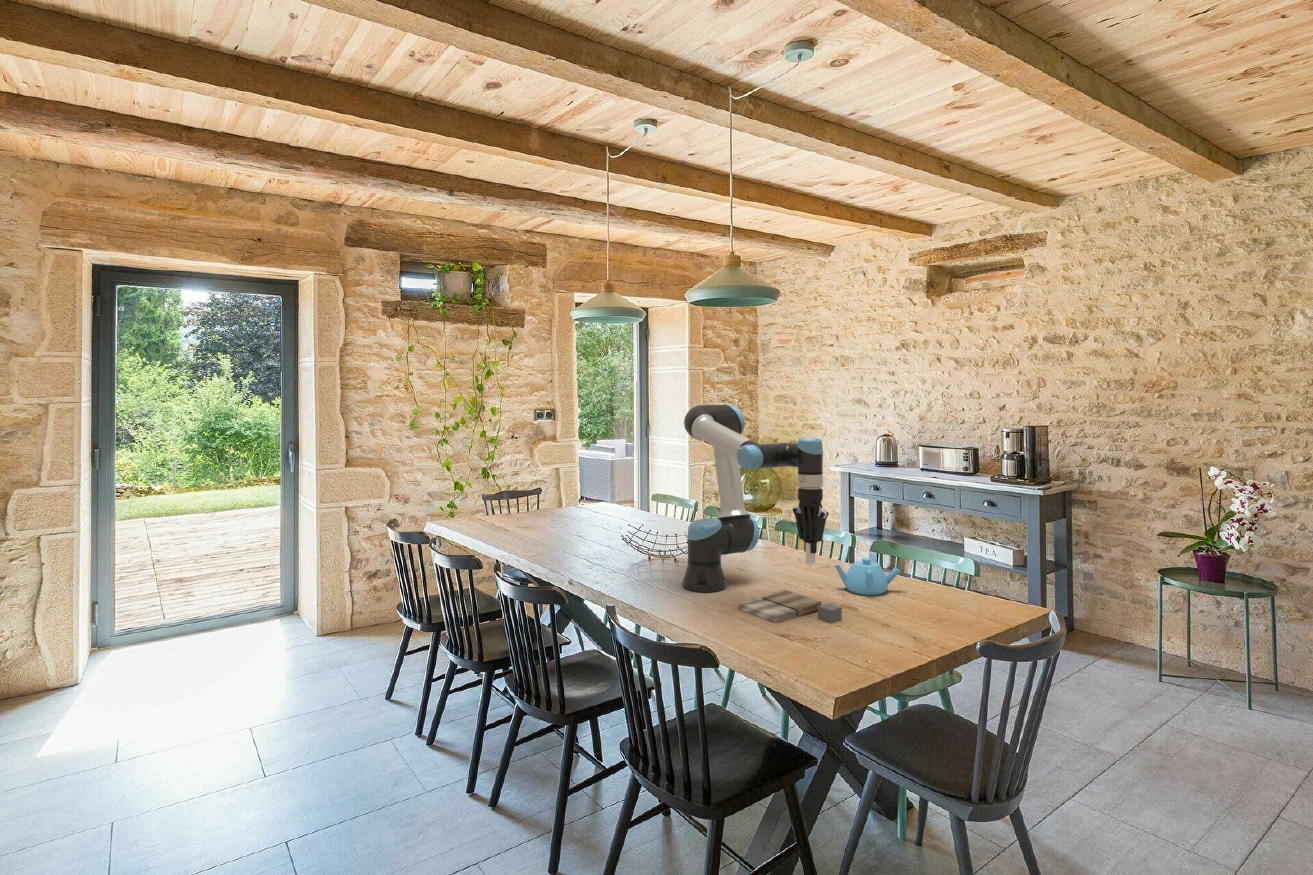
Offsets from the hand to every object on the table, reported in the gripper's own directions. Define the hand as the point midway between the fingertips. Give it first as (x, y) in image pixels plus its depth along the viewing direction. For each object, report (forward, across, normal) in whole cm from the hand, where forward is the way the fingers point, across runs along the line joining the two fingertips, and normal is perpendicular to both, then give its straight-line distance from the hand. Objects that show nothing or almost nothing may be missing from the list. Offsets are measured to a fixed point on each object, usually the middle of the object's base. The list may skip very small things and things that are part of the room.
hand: (810, 562), depth 218 cm
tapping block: (+16, +8, -1) cm, 18 cm away
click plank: (+15, -7, -1) cm, 16 cm away
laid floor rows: (+15, -7, -12) cm, 21 cm away
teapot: (+15, -5, +33) cm, 37 cm away
